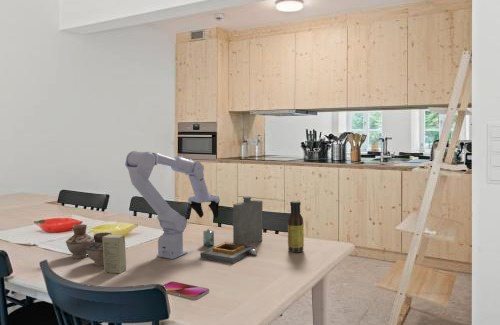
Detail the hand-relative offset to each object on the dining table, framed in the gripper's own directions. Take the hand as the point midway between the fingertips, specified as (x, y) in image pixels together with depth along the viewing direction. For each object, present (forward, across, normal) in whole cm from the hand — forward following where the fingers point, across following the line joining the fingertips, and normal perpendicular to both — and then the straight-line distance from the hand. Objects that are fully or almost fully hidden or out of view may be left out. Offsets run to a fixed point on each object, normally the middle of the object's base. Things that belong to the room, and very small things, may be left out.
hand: (209, 216), depth 171 cm
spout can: (+10, 0, +6) cm, 12 cm away
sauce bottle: (+17, -35, -3) cm, 39 cm away
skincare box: (-6, +10, +45) cm, 46 cm away
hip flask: (+16, -12, -5) cm, 20 cm away
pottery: (-5, +27, +40) cm, 48 cm away
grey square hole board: (+9, -15, +13) cm, 22 cm away
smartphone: (-4, -21, +48) cm, 53 cm away
